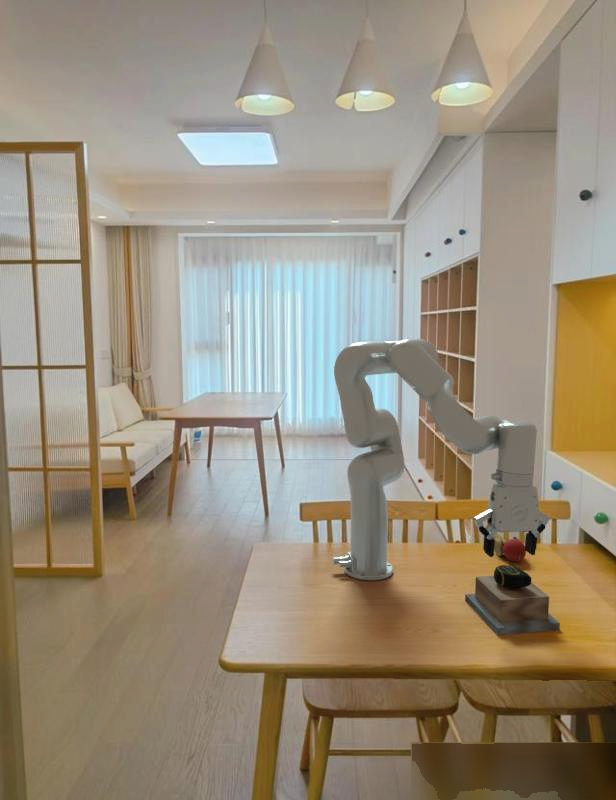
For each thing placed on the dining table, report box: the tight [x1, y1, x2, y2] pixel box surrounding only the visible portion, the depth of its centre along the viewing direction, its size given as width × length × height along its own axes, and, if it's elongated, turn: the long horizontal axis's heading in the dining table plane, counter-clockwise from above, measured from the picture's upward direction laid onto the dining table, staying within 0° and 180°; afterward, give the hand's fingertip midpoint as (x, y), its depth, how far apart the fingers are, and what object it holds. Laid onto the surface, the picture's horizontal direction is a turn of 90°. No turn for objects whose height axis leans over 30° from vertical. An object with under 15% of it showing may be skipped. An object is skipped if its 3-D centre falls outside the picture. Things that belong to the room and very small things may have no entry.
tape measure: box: [493, 564, 532, 589], centre depth 130 cm, size 7×7×4 cm
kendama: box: [493, 532, 527, 563], centre depth 167 cm, size 8×6×18 cm
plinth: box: [464, 575, 561, 636], centre depth 130 cm, size 14×16×6 cm
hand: (509, 553), depth 129 cm, fingers open, 9 cm apart
